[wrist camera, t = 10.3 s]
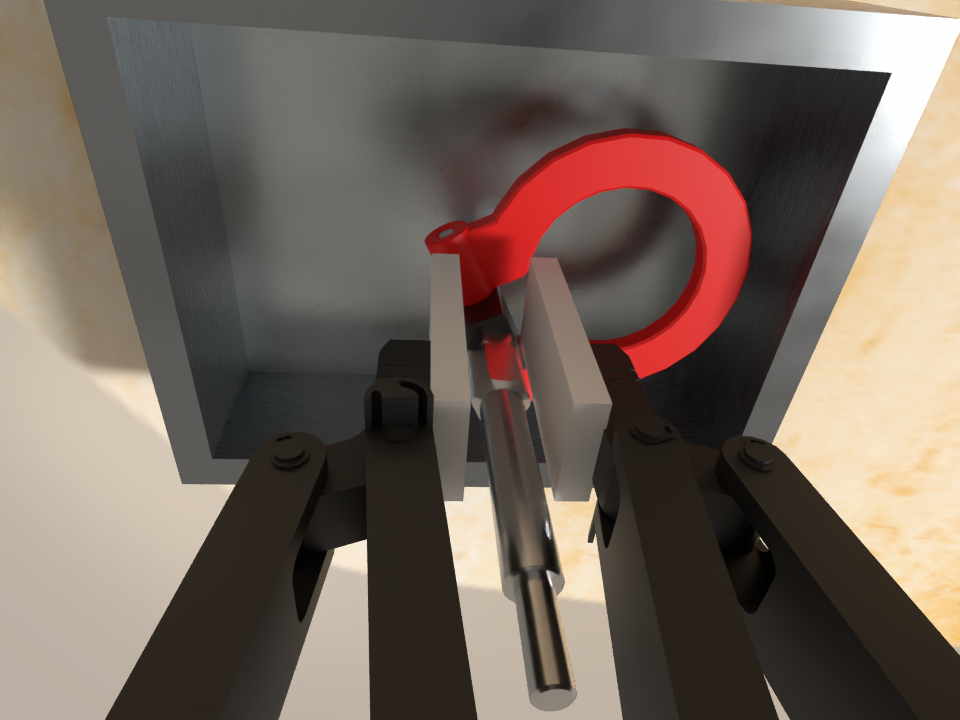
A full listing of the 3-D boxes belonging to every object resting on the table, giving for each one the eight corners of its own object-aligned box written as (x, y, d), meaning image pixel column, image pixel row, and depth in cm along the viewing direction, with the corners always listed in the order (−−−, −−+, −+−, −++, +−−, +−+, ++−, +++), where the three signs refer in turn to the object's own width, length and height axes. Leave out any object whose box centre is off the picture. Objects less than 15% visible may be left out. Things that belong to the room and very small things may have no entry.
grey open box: (230, 379, 26) (182, 483, 21) (144, -59, 17) (27, -55, 12) (695, 390, 28) (751, 489, 23) (829, -3, 19) (964, 19, 14)
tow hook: (713, 75, 17) (408, 204, 18) (1211, 285, 6) (388, 559, 8) (752, 317, 22) (505, 407, 23) (1082, 681, 11) (580, 810, 12)
